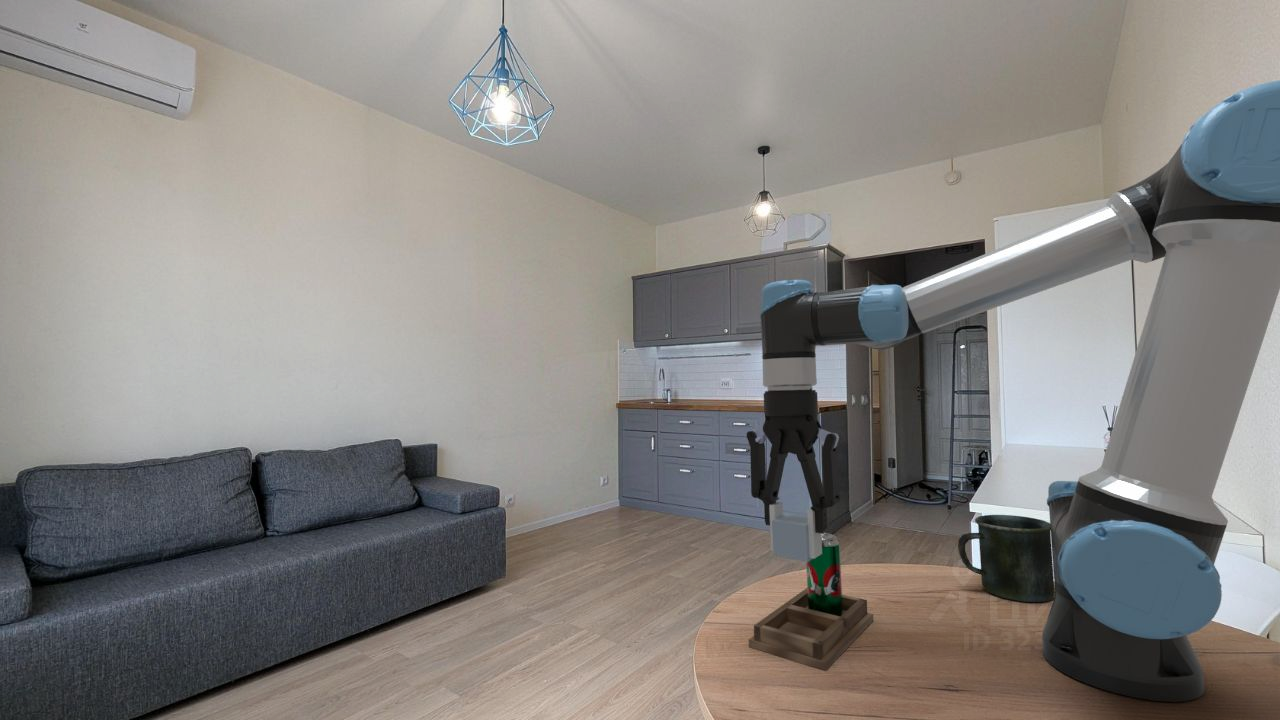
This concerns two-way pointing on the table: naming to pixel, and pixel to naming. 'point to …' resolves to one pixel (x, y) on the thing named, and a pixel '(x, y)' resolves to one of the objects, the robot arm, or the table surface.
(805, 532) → the block
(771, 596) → the table surface
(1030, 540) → the mug
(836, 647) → the caddy
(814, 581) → the soda can
